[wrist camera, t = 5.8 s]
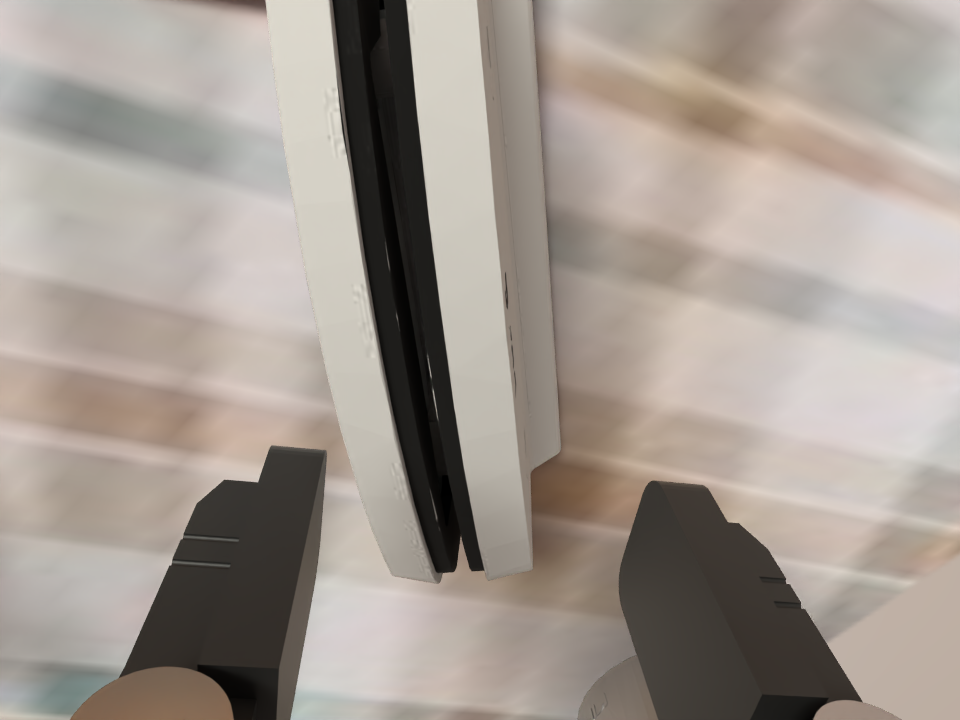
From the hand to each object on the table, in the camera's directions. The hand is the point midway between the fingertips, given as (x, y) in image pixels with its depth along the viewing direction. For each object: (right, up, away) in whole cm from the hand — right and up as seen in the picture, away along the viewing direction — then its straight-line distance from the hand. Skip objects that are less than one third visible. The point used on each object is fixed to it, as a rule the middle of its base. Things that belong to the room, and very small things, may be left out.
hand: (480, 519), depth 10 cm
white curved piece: (0, +7, +13) cm, 15 cm away
